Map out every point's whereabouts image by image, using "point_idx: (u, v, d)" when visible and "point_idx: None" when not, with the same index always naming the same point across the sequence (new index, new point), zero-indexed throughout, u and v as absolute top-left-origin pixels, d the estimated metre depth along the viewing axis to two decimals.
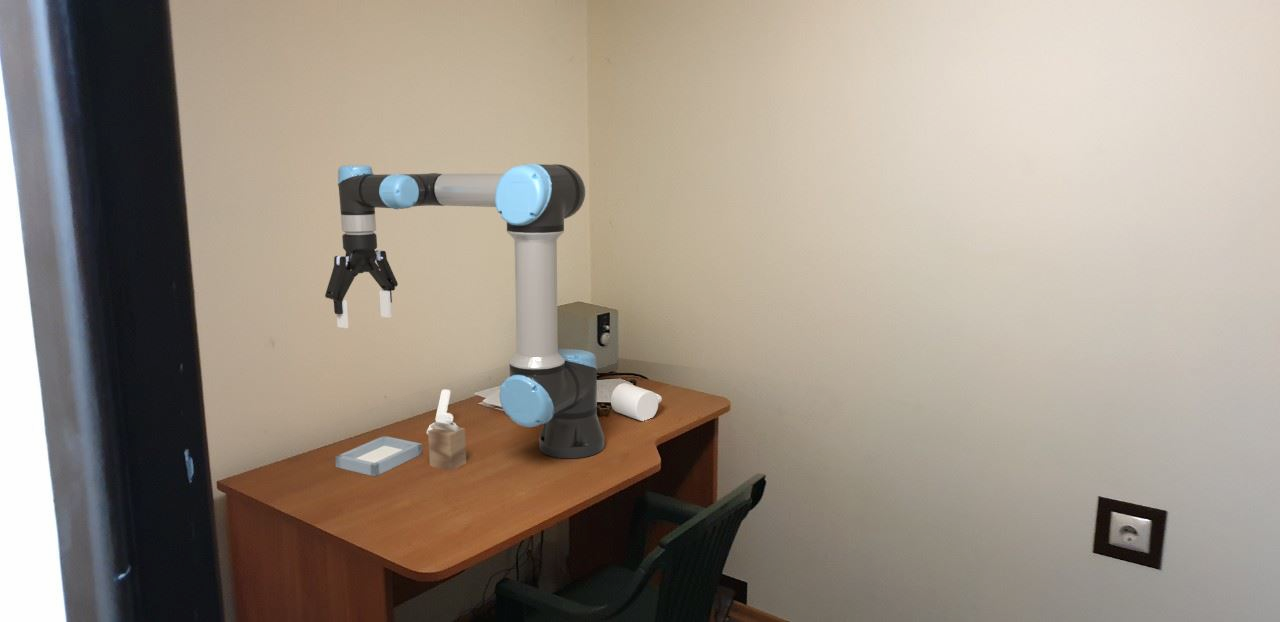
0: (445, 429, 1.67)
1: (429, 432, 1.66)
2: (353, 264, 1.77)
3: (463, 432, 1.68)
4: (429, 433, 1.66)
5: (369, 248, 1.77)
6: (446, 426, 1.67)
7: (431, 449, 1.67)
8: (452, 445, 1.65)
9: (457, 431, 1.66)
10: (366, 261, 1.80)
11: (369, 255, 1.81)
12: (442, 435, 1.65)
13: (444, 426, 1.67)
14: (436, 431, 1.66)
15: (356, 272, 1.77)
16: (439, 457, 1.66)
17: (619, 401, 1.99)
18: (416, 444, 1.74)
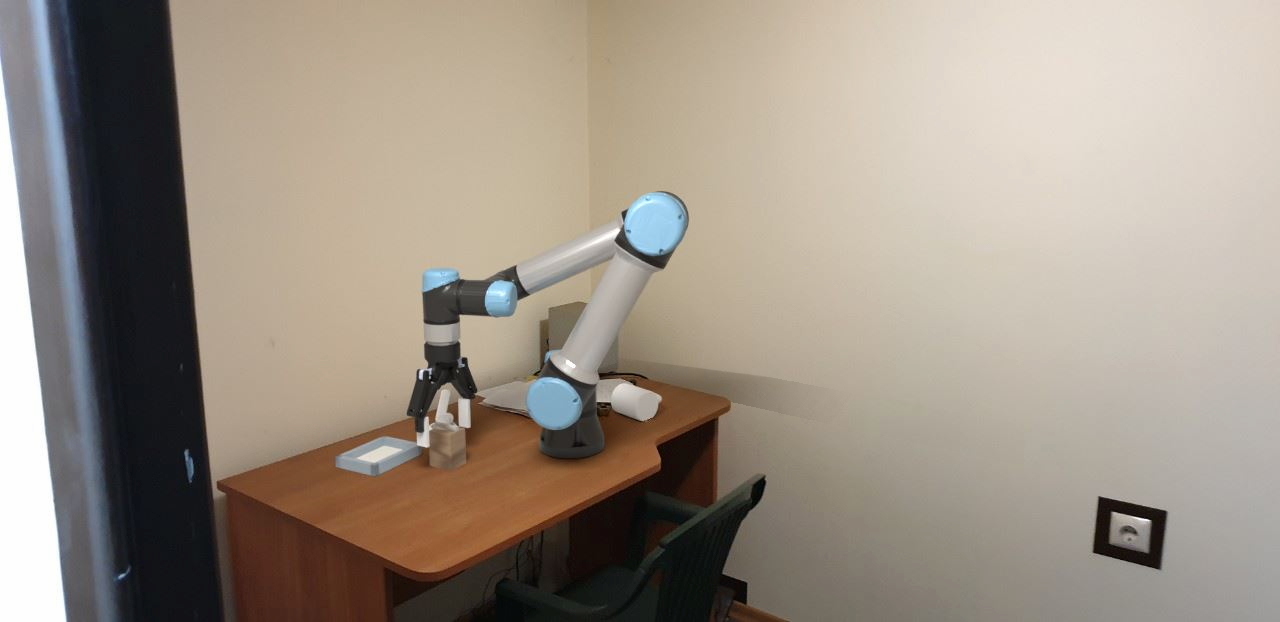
0: (445, 429, 1.67)
1: (429, 432, 1.66)
2: (436, 377, 1.62)
3: (463, 432, 1.68)
4: (429, 433, 1.66)
5: (453, 359, 1.62)
6: (446, 426, 1.67)
7: (432, 449, 1.67)
8: (452, 445, 1.65)
9: (457, 431, 1.66)
10: (448, 371, 1.65)
11: (451, 364, 1.66)
12: (442, 435, 1.65)
13: (444, 426, 1.67)
14: (436, 431, 1.66)
15: (439, 386, 1.62)
16: (439, 457, 1.66)
17: (619, 401, 1.99)
18: (416, 444, 1.74)
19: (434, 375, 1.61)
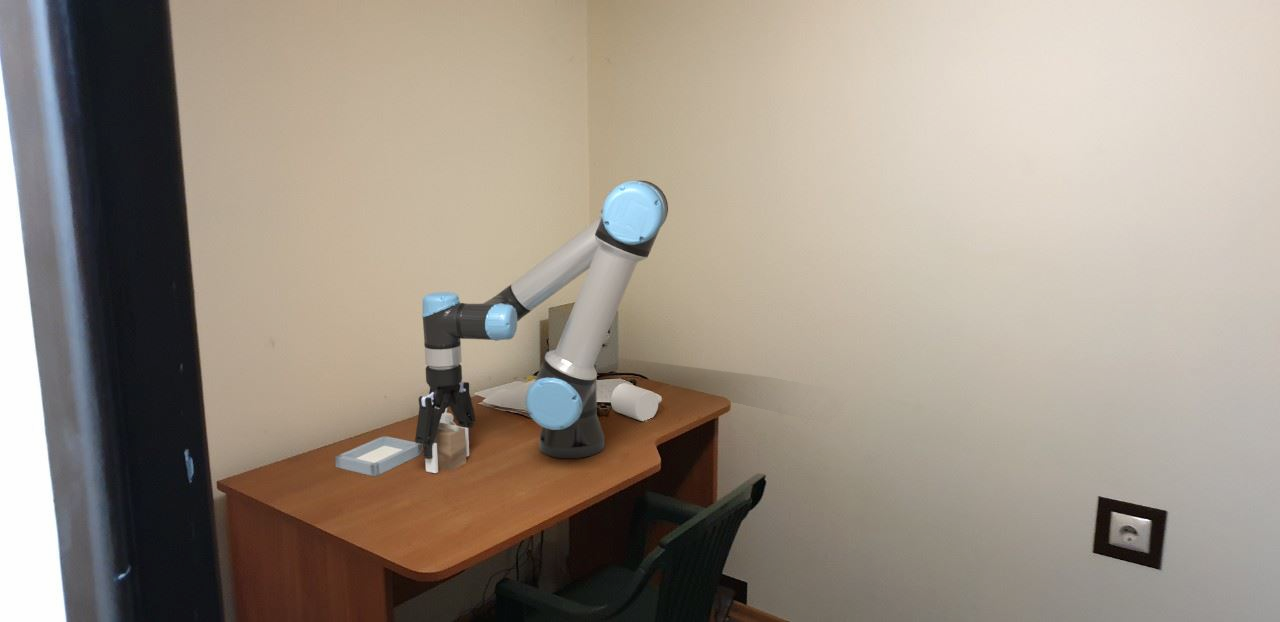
0: (445, 429, 1.67)
1: None
2: (438, 401, 1.63)
3: (463, 432, 1.68)
4: None
5: (455, 383, 1.63)
6: (446, 426, 1.67)
7: None
8: (452, 445, 1.65)
9: (457, 431, 1.66)
10: (450, 394, 1.66)
11: (453, 388, 1.67)
12: (442, 435, 1.65)
13: (444, 426, 1.67)
14: None
15: (443, 410, 1.63)
16: (439, 457, 1.66)
17: (619, 401, 1.99)
18: (416, 444, 1.74)
19: (436, 399, 1.62)
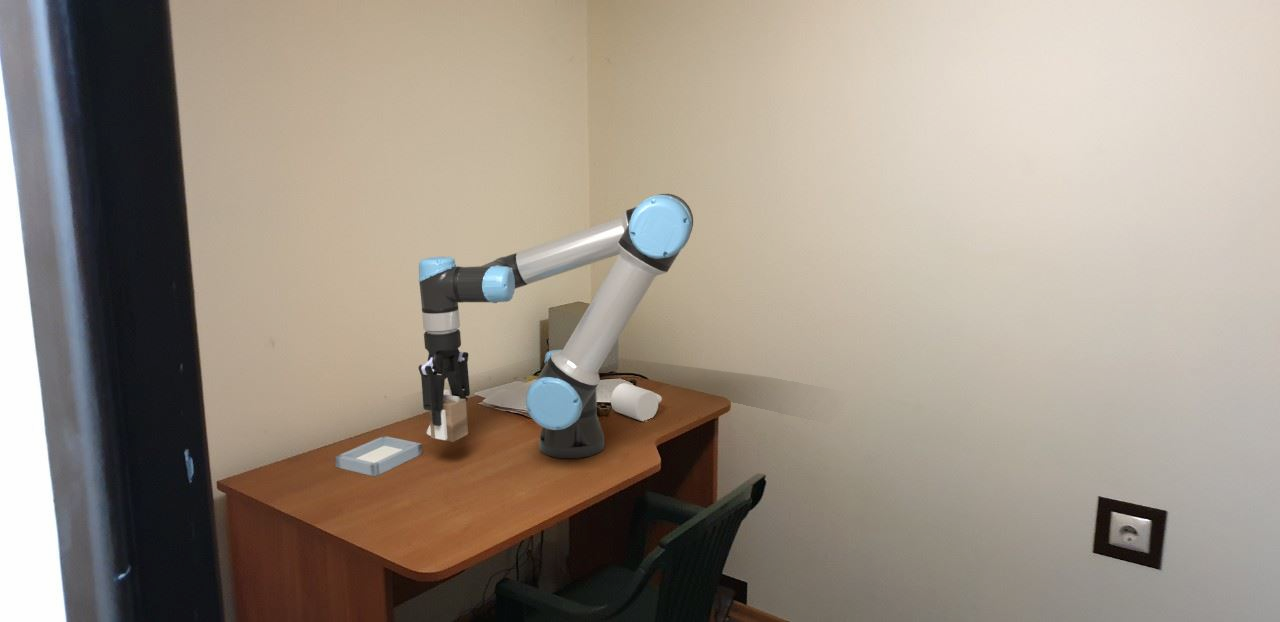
0: (446, 400, 1.66)
1: None
2: (437, 366, 1.61)
3: (464, 403, 1.67)
4: None
5: (454, 347, 1.62)
6: (447, 397, 1.65)
7: None
8: (453, 415, 1.64)
9: (458, 402, 1.65)
10: (449, 359, 1.64)
11: (452, 353, 1.65)
12: (443, 406, 1.64)
13: (445, 397, 1.66)
14: None
15: (445, 376, 1.62)
16: None
17: (619, 401, 1.99)
18: (416, 444, 1.74)
19: (435, 364, 1.61)
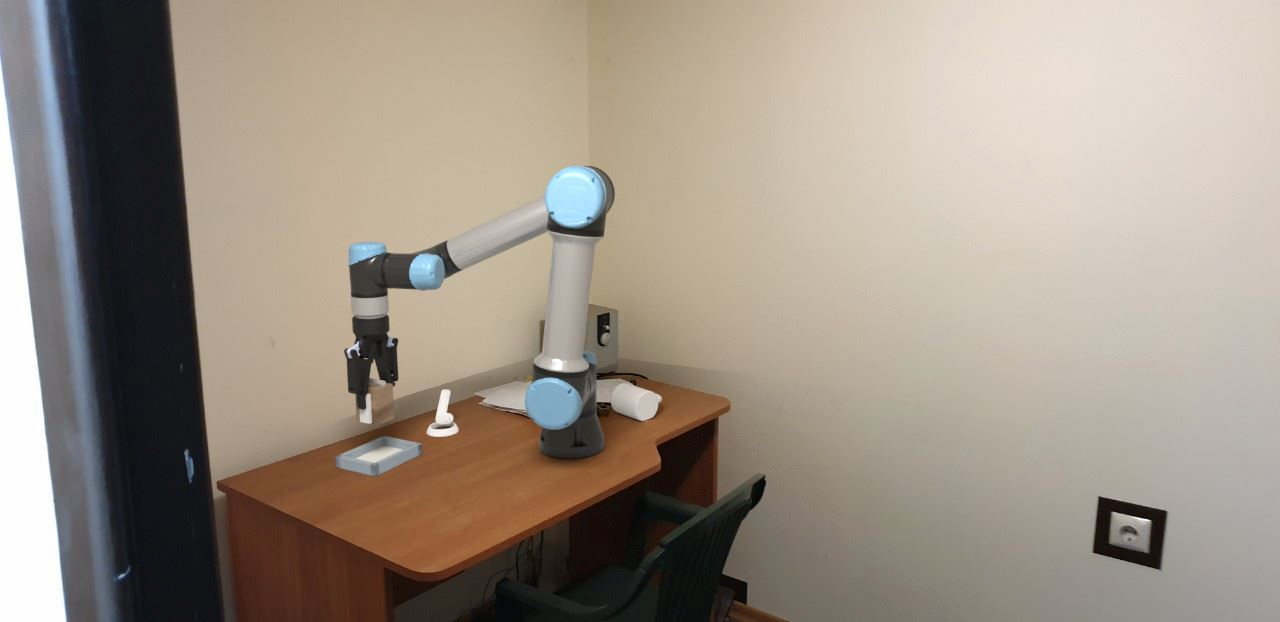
0: (372, 384, 1.67)
1: None
2: (364, 350, 1.63)
3: (391, 388, 1.68)
4: None
5: (381, 333, 1.63)
6: (373, 381, 1.67)
7: None
8: (378, 399, 1.65)
9: (384, 386, 1.66)
10: (377, 344, 1.66)
11: (381, 338, 1.67)
12: (368, 389, 1.65)
13: (371, 381, 1.67)
14: None
15: (371, 360, 1.64)
16: None
17: (619, 401, 1.98)
18: (416, 444, 1.74)
19: (361, 348, 1.62)
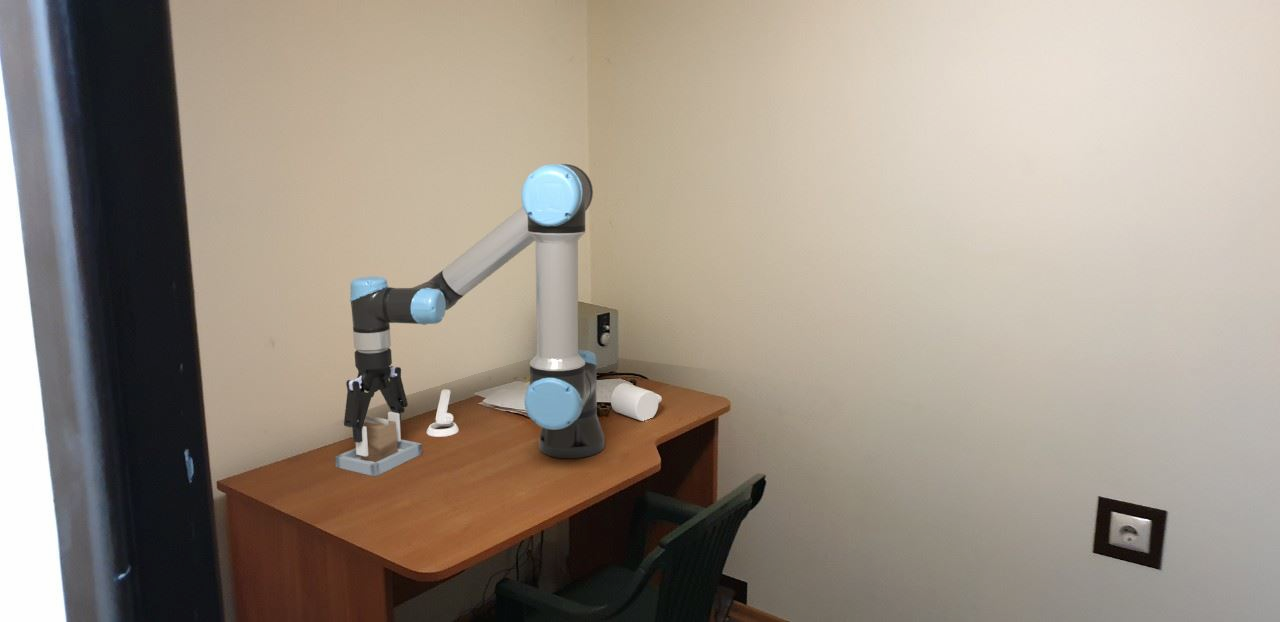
0: (376, 423, 1.69)
1: None
2: (366, 384, 1.64)
3: (394, 426, 1.70)
4: None
5: (383, 366, 1.65)
6: (376, 420, 1.69)
7: None
8: (381, 438, 1.67)
9: (387, 425, 1.68)
10: (380, 378, 1.67)
11: (383, 372, 1.68)
12: (371, 429, 1.67)
13: (375, 420, 1.69)
14: (366, 425, 1.68)
15: (372, 394, 1.65)
16: (369, 450, 1.68)
17: (619, 401, 1.98)
18: (416, 444, 1.74)
19: (364, 382, 1.64)
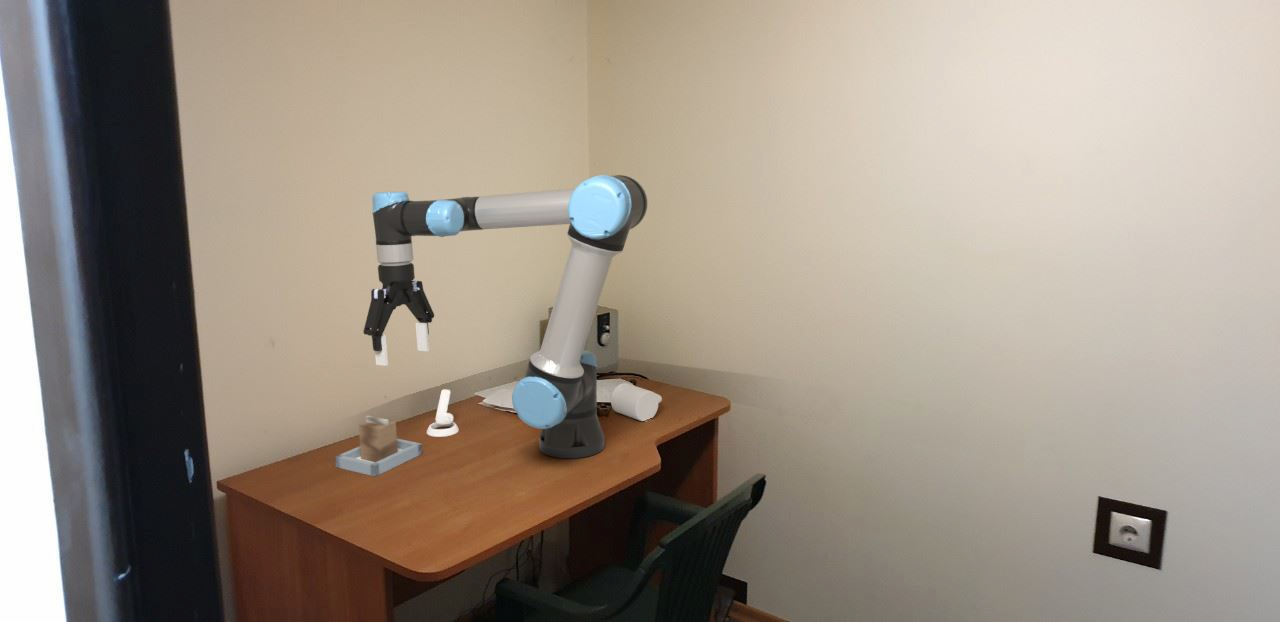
0: (376, 423, 1.69)
1: (359, 425, 1.68)
2: (391, 297, 1.66)
3: (394, 426, 1.70)
4: (359, 426, 1.68)
5: (407, 279, 1.67)
6: (376, 420, 1.69)
7: (362, 442, 1.69)
8: (381, 438, 1.67)
9: (387, 425, 1.68)
10: (403, 293, 1.69)
11: (406, 286, 1.70)
12: (371, 429, 1.67)
13: (375, 420, 1.69)
14: (366, 425, 1.68)
15: (394, 305, 1.66)
16: (369, 450, 1.68)
17: (619, 401, 1.98)
18: (416, 444, 1.74)
19: (389, 295, 1.66)
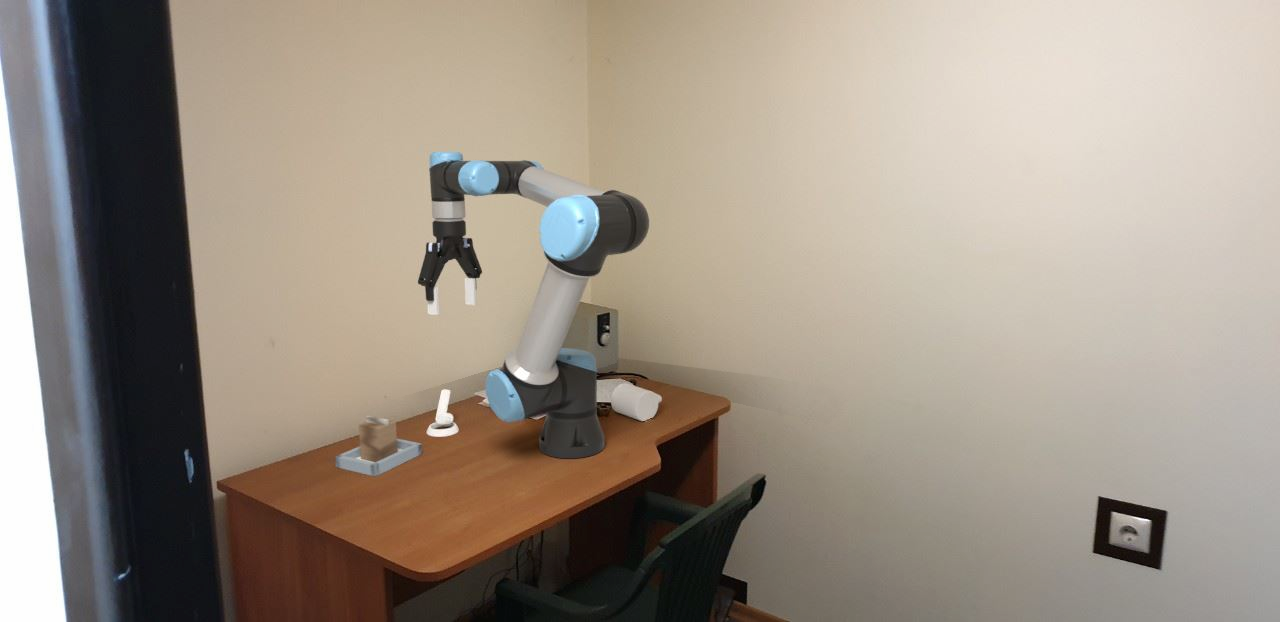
0: (376, 423, 1.69)
1: (359, 425, 1.68)
2: (444, 251, 1.77)
3: (394, 426, 1.70)
4: (359, 426, 1.68)
5: (459, 235, 1.77)
6: (376, 420, 1.69)
7: (362, 442, 1.69)
8: (381, 438, 1.67)
9: (387, 425, 1.68)
10: (455, 248, 1.80)
11: (458, 242, 1.81)
12: (371, 429, 1.67)
13: (375, 420, 1.69)
14: (366, 425, 1.68)
15: (447, 259, 1.77)
16: (369, 450, 1.68)
17: (619, 401, 1.98)
18: (416, 444, 1.74)
19: (442, 249, 1.76)
